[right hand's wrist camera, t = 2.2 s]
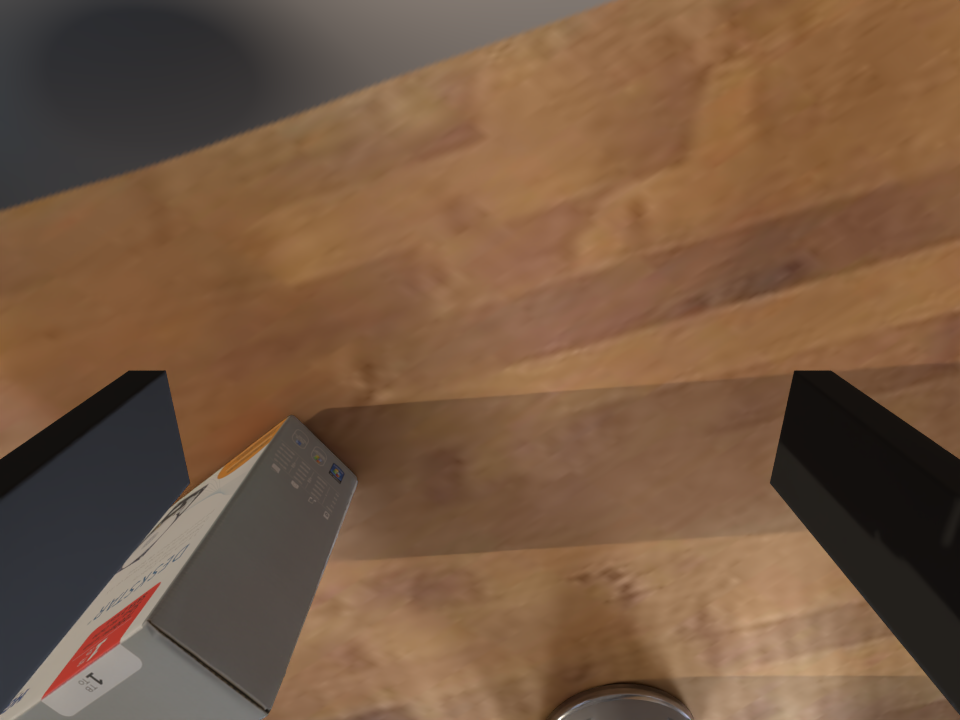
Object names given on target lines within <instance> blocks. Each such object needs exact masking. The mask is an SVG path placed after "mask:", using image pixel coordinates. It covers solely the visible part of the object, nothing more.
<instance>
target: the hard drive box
mask: <svg viewBox="0 0 960 720" xmlns="http://www.w3.org/2000/svg"><path fill="white" fill-rule="evenodd" d="M357 483H358V481H357V477H356V476H355V475H354V474H353V473H352V472H351V471H350V470H349V468H348V467H346V466H345V465H344V464H343V463H342V462H341V461H340V460H339V459H338V458H337V457H336V456H335V455H334V454H333V453H332V452H331V451H330V450H329V449H328V448H327V447H326V446H325V445H324V444H323V443H322V442H321V441H320V440H319V439H318V438H317V437H316V436H315V435H314V434H313V433H312V432H311V431H310V430H309V429H308V428H307V427H306V426H305V425H304V424H303V423H301V422H300V421H299V420H298V419H297V418H296V417H295V416H294V415H290V416H288V417H287V418H286V419H284V420H283V421H282V422H280V423H279V424H278V425H276V426H275V427H274V428H272V429H271V430H270V431H269V432H267V433H266V434H265V435H263V436H262V437H261V438H259V439H258V440H257V441H256V442H254V443H253V444H252V445H250V446H249V447H248V448H247V449H245V450H244V451H243V452H242V453H240V454H239V455H238V456H236V457H235V458H234V459H232V460H231V461H230V462H229V463H227V464H226V465H225V466H223V467H222V468H221V469H219V470H218V471H217V472H215V473H214V474H213V475H212V476H210V477H209V478H208V479H206V480H205V481H204V482H203V483H201V484H200V485H199V486H197V487H196V488H194V489H193V490H192V491H191V492H190V493H188V494H187V495H186V496H184V497H183V498H182V499H180V500H179V501H178V502H177V503H175V504H174V505H173V506H172V507H171V508H169V509H168V511H167V512H166V513H165V514H164V515H163V517H162V518H161V519H160V520H159V522H158V523H157V524H156V525H155V526H154V528H153V529H152V530H151V531H150V533H149V534H148V535H147V536H146V537H145V539H144V540H143V541H142V542H141V544H140V545H139V546H138V547H137V548H136V550H135V551H134V552H133V553H132V555H131V556H130V557H129V558H128V559H127V561H126V562H125V563H124V564H123V566H122V567H121V568H120V569H119V570H118V572H117V573H116V574H115V575H114V577H113V578H112V579H111V580H110V581H109V583H108V584H107V585H106V586H105V588H104V589H103V590H102V591H101V592H100V594H99V595H98V596H97V597H96V599H95V600H94V601H93V602H92V603H91V605H90V606H89V607H88V608H87V610H86V611H85V612H84V613H83V614H82V616H81V617H80V618H79V619H78V621H77V622H76V623H75V624H74V625H73V627H72V628H71V629H70V630H69V632H68V633H67V634H66V635H65V636H64V638H63V639H62V640H61V641H60V643H59V644H58V645H57V646H56V647H55V649H54V650H53V651H52V652H51V654H50V655H49V656H48V657H47V658H46V660H45V661H44V662H43V663H42V665H41V666H40V667H39V668H38V669H37V671H36V672H35V673H34V674H33V676H32V677H31V678H30V679H29V680H28V682H27V683H26V684H25V685H24V687H23V688H22V689H21V690H20V691H19V693H18V694H17V695H16V696H15V698H14V699H13V700H12V701H11V703H10V704H9V705H8V706H7V707H6V709H5V710H4V711H3V712H2V714H1V715H0V720H261V719H263V718H265V717H266V716H268V714H269V712H270V710H271V708H272V706H273V703H274V701H275V698H276V695H277V693H278V691H279V688H280V685H281V683H282V680H283V678H284V676H285V674H286V669H287V667H288V664H289V662H290V659H291V656H292V653H293V651H294V648H295V645H296V643H297V640H298V638H299V635H300V632H301V630H302V627H303V624H304V622H305V619H306V616H307V614H308V611H309V609H310V606H311V603H312V601H313V598H314V596H315V593H316V590H317V588H318V585H319V583H320V580H321V578H322V575H323V572H324V570H325V567H326V565H327V562H328V559H329V557H330V554H331V551H332V549H333V546H334V544H335V541H336V538H337V536H338V533H339V531H340V528H341V525H342V523H343V520H344V518H345V515H346V512H347V510H348V507H349V505H350V502H351V499H352V497H353V494H354V492H355V489H356V486H357Z"/></svg>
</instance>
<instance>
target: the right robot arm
mask: <svg viewBox="0 0 960 720" xmlns="http://www.w3.org/2000/svg"><path fill="white" fill-rule="evenodd" d="M189 484H190V480H189V476H188V471H187V467H186V462H185V457H184V453H183V448H182V444H181V439H180V434H179V430H178V425H177V420H176V416H175V411H174V407H173V402H172V397H171V393H170V388H169V383H168V379H167V374H166V371H128V372H126V373H125V374H123V375H122V376H121V377H119V378H118V379H116V380H115V381H113V382H112V383H110V384H109V385H108V386H106V387H105V388H103V389H102V390H100V391H99V392H97V393H96V394H94V395H93V396H92V397H90V398H89V399H87V400H86V401H84V402H83V403H81V404H80V405H79V406H77V407H76V408H74V409H73V410H71V411H70V412H68V413H67V414H65V415H64V416H63V417H61V418H60V419H58V420H57V421H55V422H54V423H52V424H51V425H50V426H48V427H47V428H45V429H44V430H42V431H41V432H39V433H38V434H36V435H35V436H34V437H32V438H31V439H29V440H28V441H26V442H25V443H23V444H22V445H21V446H19V447H18V448H16V449H15V450H13V451H12V452H10V453H9V454H8V455H6V456H5V457H3V458H2V459H0V715H1V714H2V712H3V711H4V710H5V709H6V707H7V706H8V705H9V704H10V703H11V701H12V700H13V699H14V698H15V696H16V695H17V694H18V693H19V691H20V690H21V689H22V688H23V687H24V685H25V684H26V683H27V682H28V680H29V679H30V678H31V677H32V676H33V674H34V673H35V672H36V671H37V669H38V668H39V667H40V666H41V665H42V663H43V662H44V661H45V660H46V658H47V657H48V656H49V655H50V654H51V652H52V651H53V650H54V649H55V647H56V646H57V645H58V644H59V643H60V641H61V640H62V639H63V638H64V636H65V635H66V634H67V633H68V632H69V630H70V629H71V628H72V627H73V625H74V624H75V623H76V622H77V621H78V619H79V618H80V617H81V616H82V614H83V613H84V612H85V611H86V610H87V608H88V607H89V606H90V605H91V603H92V602H93V601H94V600H95V599H96V597H97V596H98V595H99V594H100V592H101V591H102V590H103V589H104V588H105V586H106V585H107V584H108V583H109V581H110V580H111V579H112V578H113V577H114V575H115V574H116V573H117V572H118V570H119V569H120V568H121V567H122V566H123V564H124V563H125V562H126V561H127V559H128V558H129V557H130V556H131V555H132V553H133V552H134V551H135V550H136V548H137V547H138V546H139V545H140V544H141V542H142V541H143V540H144V539H145V537H146V536H147V535H148V534H149V533H150V531H151V530H152V529H153V528H154V526H155V525H156V524H157V523H158V522H159V520H160V519H161V518H162V517H163V515H164V514H165V513H166V512H167V511H168V509H169V508H170V507H171V506H172V504H173V503H174V502H175V501H176V500H177V498H178V497H179V496H180V495H181V493H182V492H183V491H184V490H185V489H186V487H187V486H188V485H189ZM770 484H771V485H772V486H773V487H774V489H775V490H776V491H777V492H778V493H779V495H780V496H781V497H782V498H783V500H784V501H785V502H786V503H787V504H788V506H789V507H790V508H791V509H792V511H793V512H794V513H795V514H796V515H797V517H798V518H799V519H800V520H801V522H802V523H803V524H804V525H805V526H806V528H807V529H808V530H809V531H810V533H811V534H812V535H813V536H814V537H815V539H816V540H817V541H818V542H819V544H820V545H821V546H822V547H823V548H824V550H825V551H826V552H827V553H828V555H829V556H830V557H831V558H832V559H833V561H834V562H835V563H836V564H837V566H838V567H839V568H840V569H841V570H842V572H843V573H844V574H845V575H846V577H847V578H848V579H849V580H850V581H851V583H852V584H853V585H854V586H855V588H856V589H857V590H858V591H859V592H860V594H861V595H862V596H863V597H864V599H865V600H866V601H867V602H868V603H869V605H870V606H871V607H872V608H873V610H874V611H875V612H876V613H877V614H878V616H879V617H880V618H881V619H882V621H883V622H884V623H885V624H886V625H887V627H888V628H889V629H890V630H891V632H892V633H893V634H894V635H895V636H896V638H897V639H898V640H899V641H900V643H901V644H902V645H903V646H904V647H905V649H906V650H907V651H908V652H909V654H910V655H911V656H912V657H913V658H914V660H915V661H916V662H917V663H918V665H919V666H920V667H921V668H922V669H923V671H924V672H925V673H926V674H927V676H928V677H929V678H930V679H931V680H932V682H933V683H934V684H935V685H936V687H937V688H938V689H939V690H940V692H941V693H942V694H943V695H944V696H945V698H946V699H947V700H948V701H949V703H950V704H951V705H952V706H953V707H954V709H955V710H956V711H957V712H958V714H959V715H960V459H958V458H957V457H955V456H954V455H952V454H951V453H950V452H948V451H947V450H945V449H944V448H942V447H941V446H939V445H938V444H937V443H935V442H934V441H932V440H931V439H929V438H928V437H926V436H925V435H924V434H922V433H921V432H919V431H918V430H916V429H915V428H913V427H912V426H910V425H909V424H908V423H906V422H905V421H903V420H902V419H900V418H899V417H897V416H896V415H895V414H893V413H892V412H890V411H889V410H887V409H886V408H884V407H883V406H881V405H880V404H879V403H877V402H876V401H874V400H873V399H871V398H870V397H868V396H867V395H866V394H864V393H863V392H861V391H860V390H858V389H857V388H855V387H854V386H852V385H851V384H850V383H848V382H847V381H845V380H844V379H842V378H841V377H839V376H838V375H837V374H835V373H834V372H832V371H794V374H793V379H792V383H791V388H790V393H789V397H788V402H787V407H786V411H785V416H784V420H783V425H782V430H781V434H780V439H779V444H778V448H777V453H776V457H775V462H774V467H773V471H772V476H771V480H770ZM546 720H694V718H693V716H692V714H691V713H690V711H689V710H688V709H687V707H686V706H685V705H684V704H683V703H682V702H681V701H679V700H678V699H677V698H675V697H674V696H672V695H670V694H668V693H666V692H664V691H662V690H659V689H656V688H652V687H649V686H643V685H636V684H613V685H606V686H600V687H596V688H592V689H589V690H586V691H584V692H581V693H579V694H577V695H575V696H573V697H571V698H569V699H568V700H566V701H564V702H563V703H562V704H560V705H559V706H558V707H557V708H556V709H555V710H554V711H553V712H552V713H551V714H550V715H549V716H548V718H547V719H546Z"/></svg>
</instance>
